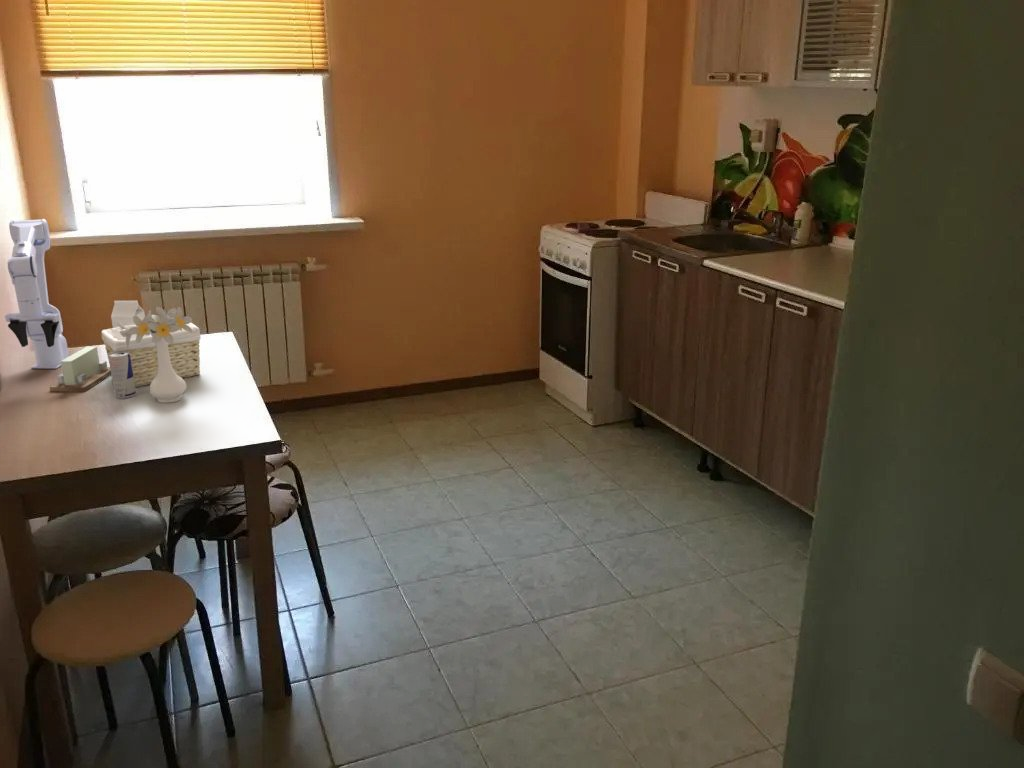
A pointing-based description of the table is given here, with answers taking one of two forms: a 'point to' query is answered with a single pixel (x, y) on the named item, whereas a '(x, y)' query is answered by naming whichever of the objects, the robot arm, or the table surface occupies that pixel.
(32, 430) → the table surface
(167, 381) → the flower vase
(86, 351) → the door panel
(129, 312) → the milk carton
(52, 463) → the table surface
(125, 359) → the energy drink
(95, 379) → the mount plate
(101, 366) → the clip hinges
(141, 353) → the storage basket
